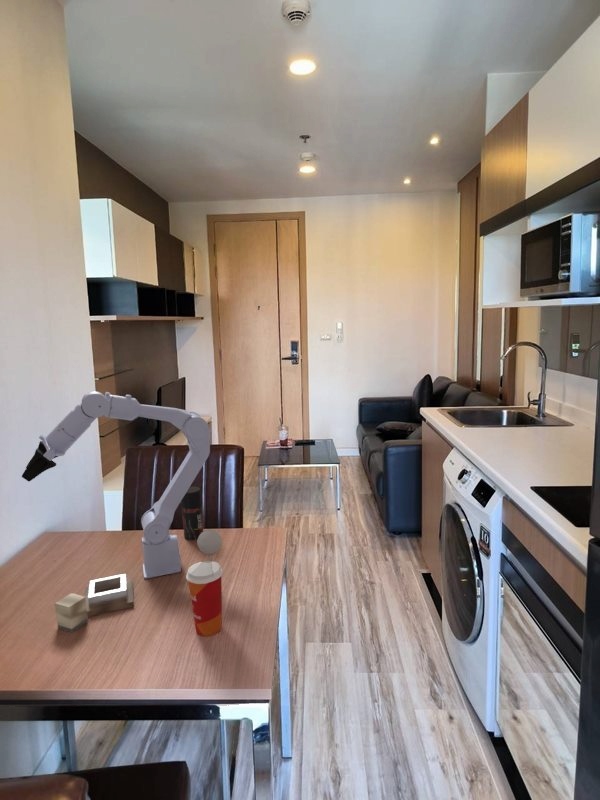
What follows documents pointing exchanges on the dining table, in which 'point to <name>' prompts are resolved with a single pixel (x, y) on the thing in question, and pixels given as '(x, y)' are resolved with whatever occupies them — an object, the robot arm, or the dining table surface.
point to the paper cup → (206, 597)
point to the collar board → (109, 594)
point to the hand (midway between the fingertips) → (27, 474)
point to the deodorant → (192, 513)
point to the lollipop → (209, 542)
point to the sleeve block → (71, 612)
